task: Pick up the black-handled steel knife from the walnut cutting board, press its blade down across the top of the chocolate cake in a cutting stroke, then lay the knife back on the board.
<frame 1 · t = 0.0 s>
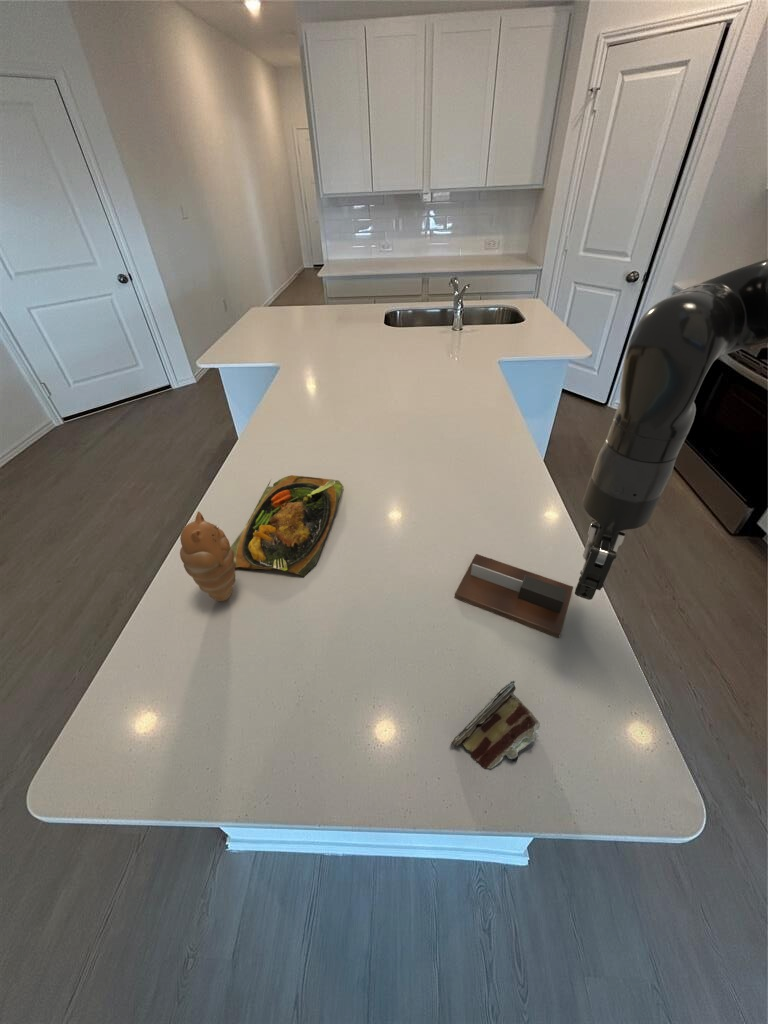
hand: (588, 574, 61), 16 cm above the counter, tool pointing down, fingers open, 8 cm apart
chocolate cake: (498, 737, 60), on the counter
knife: (540, 599, 75), point 1 cm above the counter, touching board
cat ice cream: (224, 596, 79), on the counter
prepared meal: (291, 525, 94), on the counter
board: (513, 594, 78), on the counter
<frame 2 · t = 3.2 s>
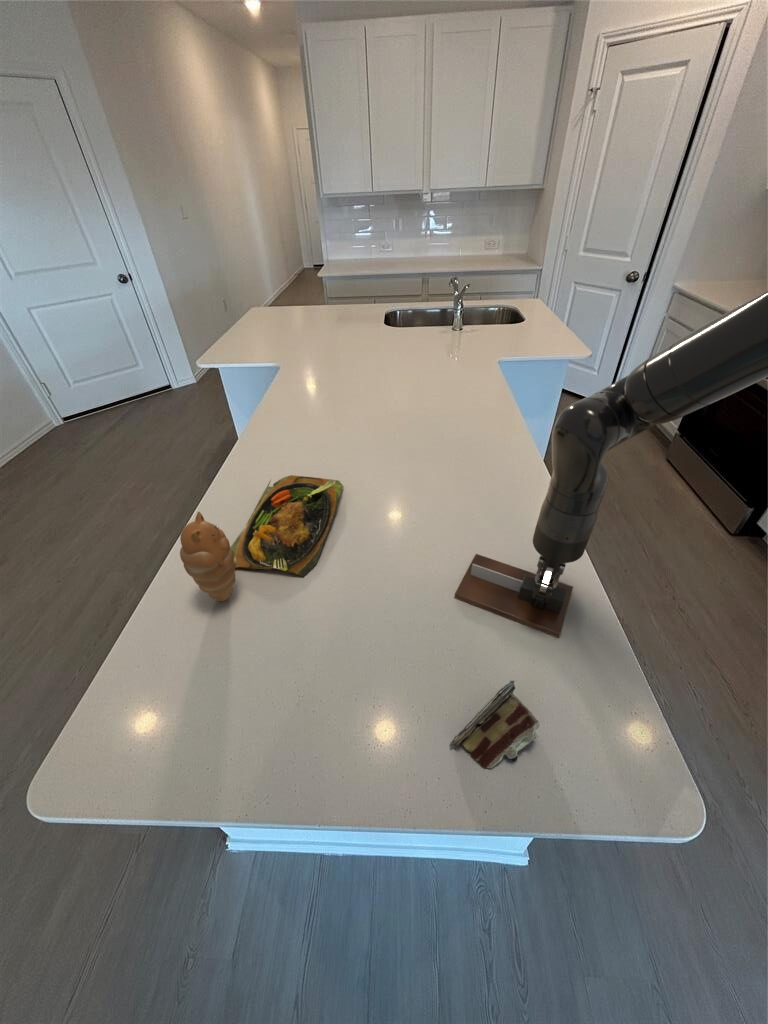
hand: (540, 598, 75), 1 cm above the counter, tool pointing down, fingers closed on knife, 3 cm apart
knife: (540, 599, 75), point 1 cm above the counter, touching board, gripper
everything else where it was.
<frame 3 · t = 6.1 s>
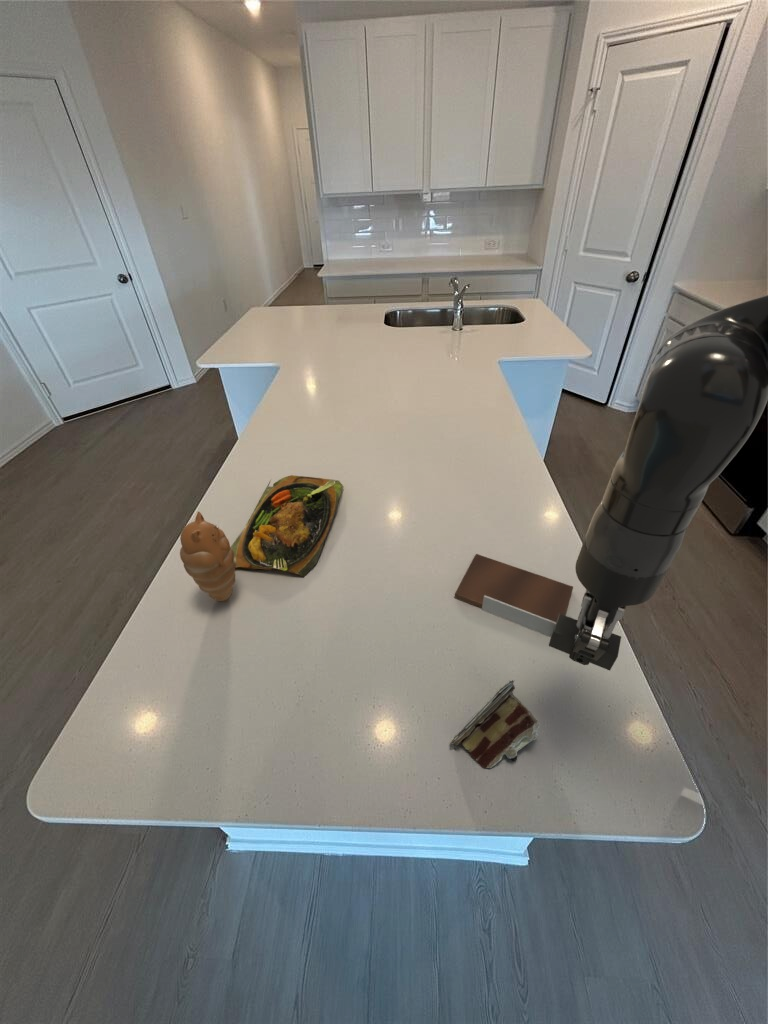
hand: (581, 647, 53), 15 cm above the counter, tool pointing down, fingers closed on knife, 3 cm apart
knife: (580, 648, 53), point 15 cm above the counter, touching gripper
everything else where it was.
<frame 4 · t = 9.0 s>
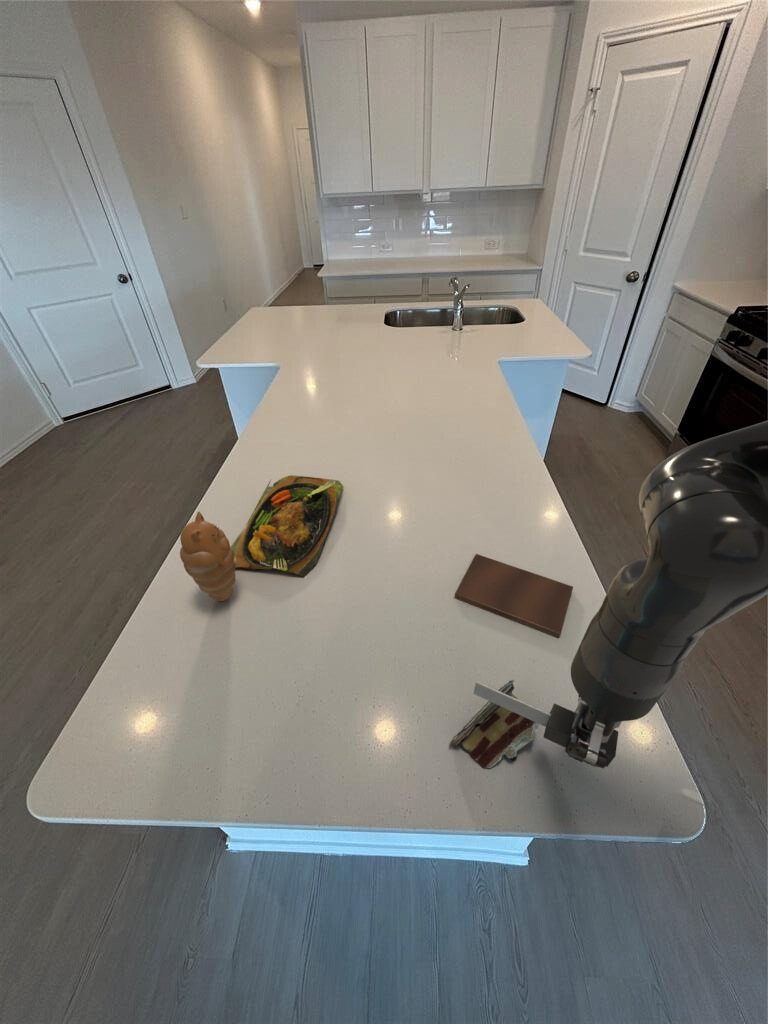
hand: (577, 739, 51), 9 cm above the counter, tool pointing down, fingers closed on knife, 3 cm apart
knife: (576, 740, 51), point 8 cm above the counter, touching gripper
everything else where it was.
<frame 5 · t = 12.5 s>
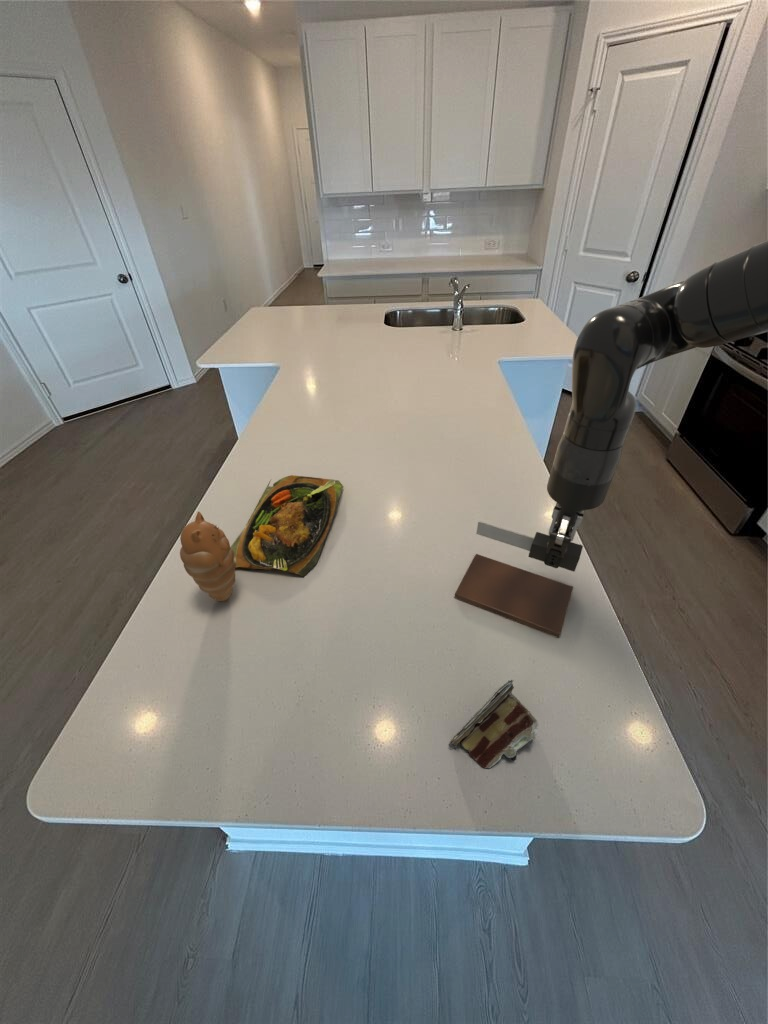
hand: (553, 557, 69), 12 cm above the counter, tool pointing down, fingers closed on knife, 3 cm apart
knife: (552, 558, 69), point 11 cm above the counter, touching gripper
everything else where it was.
when the fingers open (1 cm above the counter, at t = 15.1 s): knife stays where it is, resting on board.
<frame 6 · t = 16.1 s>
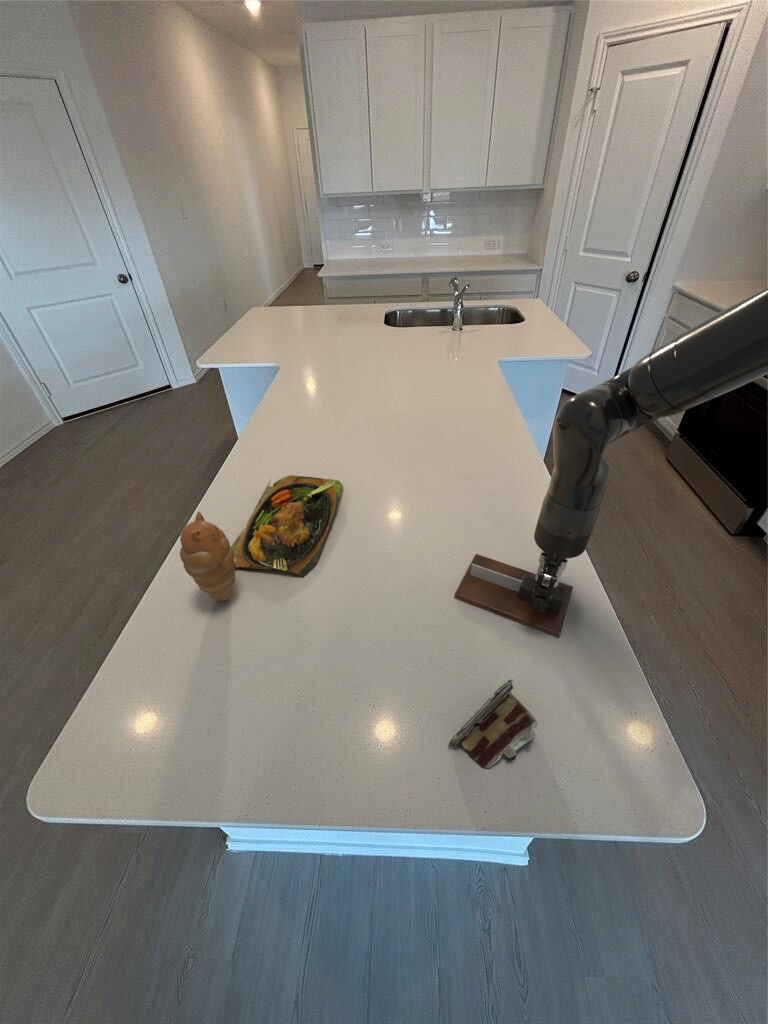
hand: (543, 591, 74), 3 cm above the counter, tool pointing down, fingers open, 8 cm apart
knife: (539, 599, 76), point 1 cm above the counter, touching board
everything else where it was.
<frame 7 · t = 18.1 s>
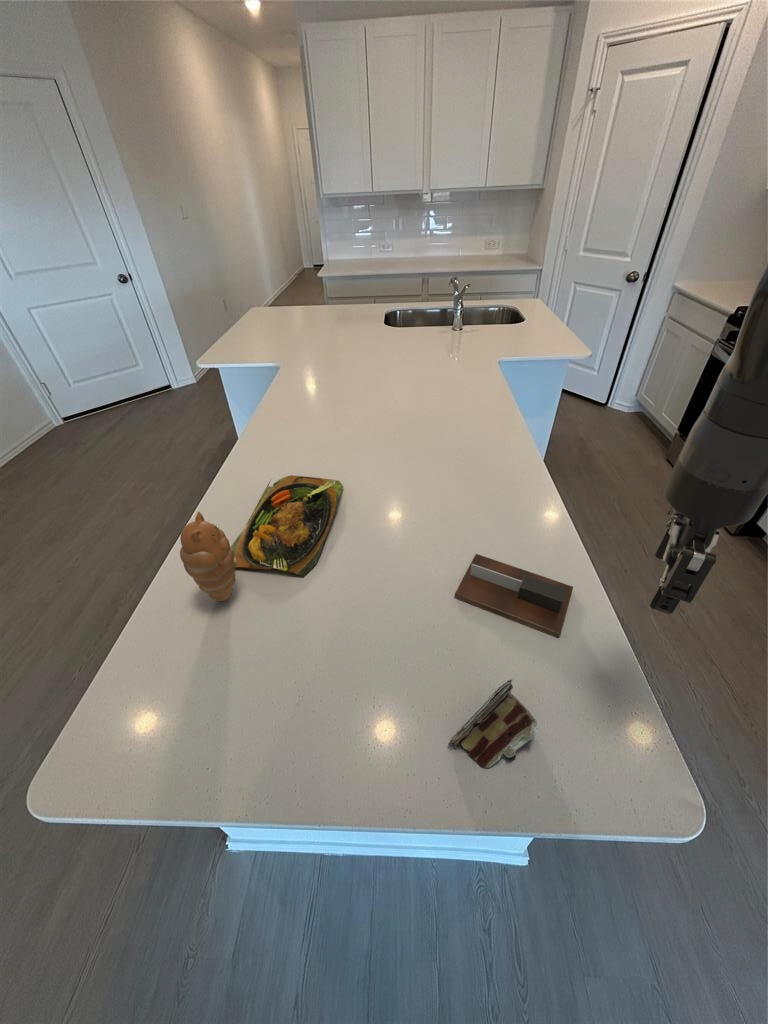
hand: (662, 582, 50), 23 cm above the counter, tool pointing down, fingers open, 8 cm apart
nothing on the counter moved.
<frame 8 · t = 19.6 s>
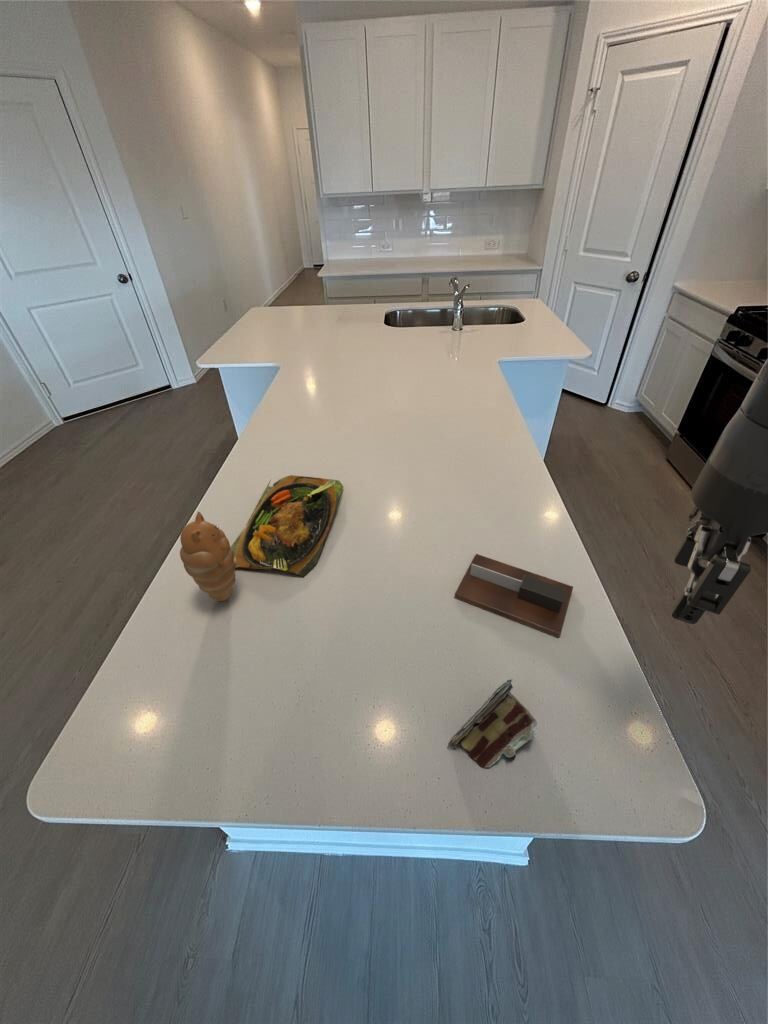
hand: (683, 589, 48), 24 cm above the counter, tool pointing down, fingers open, 8 cm apart
nothing on the counter moved.
at the end: knife inside the target area on the board (0.1 cm from its centre), point 1.2 cm above the board's base; the gripper is holding nothing; chocolate cake moved 0.4 cm from its start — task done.
